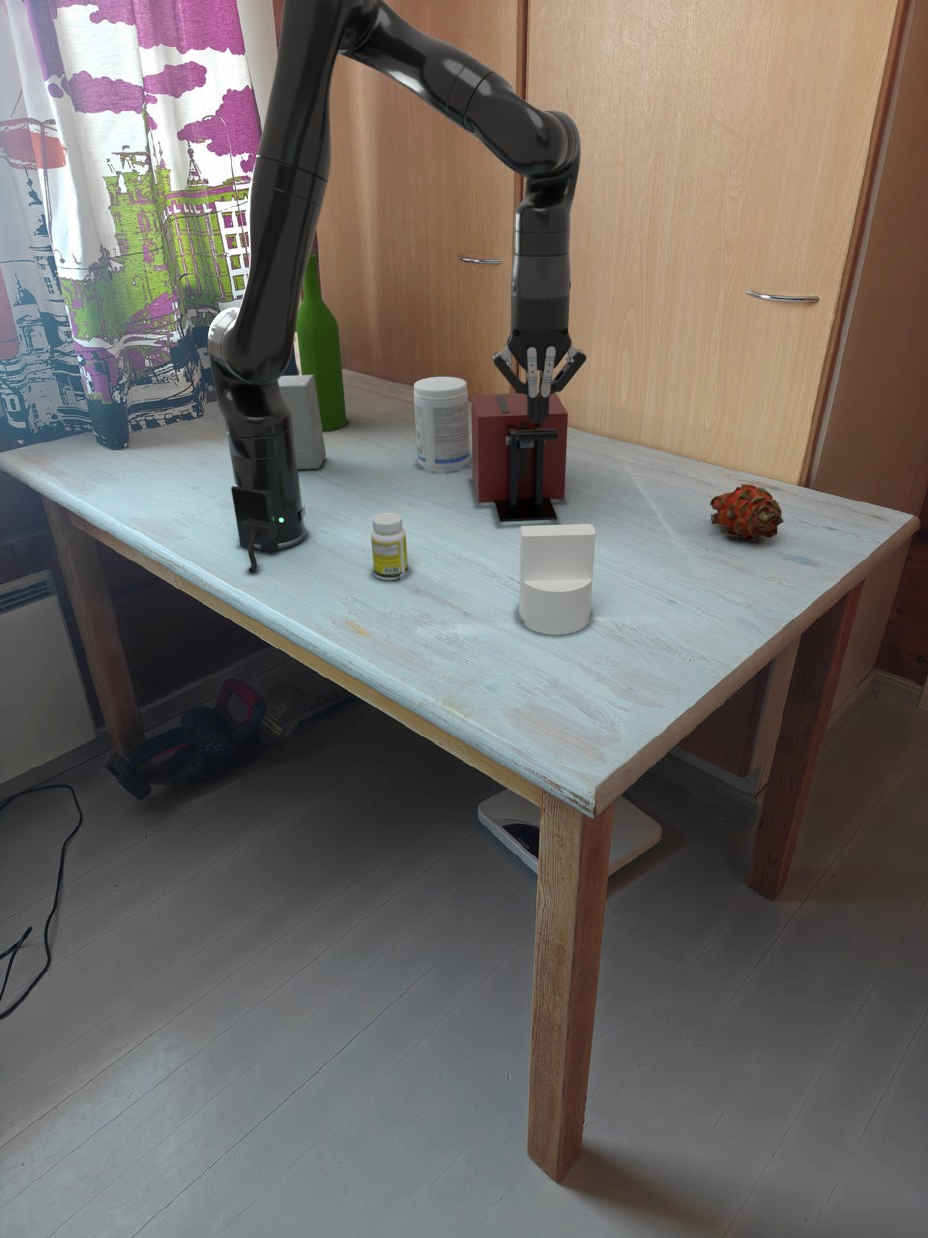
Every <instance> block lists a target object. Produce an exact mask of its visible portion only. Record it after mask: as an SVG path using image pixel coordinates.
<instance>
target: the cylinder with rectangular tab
mask: <svg viewBox="0 0 928 1238" xmlns="http://www.w3.org/2000/svg"><path fill="white" fill-rule="evenodd" d="M519 532H520V535H519V536H520V537H519V539H520V540H519V541H520V542H519V588H518V589H519V590H518V591H519V593H518V613H519V615H520V617H521V618H522V619H520V620H519V621H520V623H521V624H522V626H524V627H526V628H527V629H529V630H531V631H533V632H536V633H538V634H545V635H550V636H551V635H552V636H553V635H554V636H560V635H570V634H573V633H576V632H579V631H581V630H583V629H584V628H585V627H586V626H587V625H588V624H589V622H590V620H591V616H590V615H591V608H592V591H593V575H594V563H595V562H594V561H595V559H594V558H595V548H596V547H595V546H596V545H595V543H596V528H595V527H594V525H593V524H592V523H580V524H575V523H574V524H546V525H543V524H542V525H520V531H519Z"/></svg>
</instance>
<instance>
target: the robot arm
mask: <svg viewBox="0 0 928 1238" xmlns="http://www.w3.org/2000/svg"><path fill="white" fill-rule="evenodd" d="M282 7H283V8H282V9H283V10H282V18H281V25H280V33H279V42H278V49H277V56H276V57H277V58H276V65H275V70H274V76H273V79H272V84H271V89H270V94H269V99H268V103H267V108H266V113H265V117H264V118H265V119H264V123H263V129H262V132H261V137H260V140H259V145H258V149H257V152H256V157H255V160H254V165H253V170H252V174H251V179H250V184H249V189H248V198H247V227H248V245H249V246H248V247H249V265H248V274H247V279H246V285H245V288H244V292H243V296H242V299H241V302H240V306H233V307H228V308H227V309H224V310H222V311H220V312H219V314H218V315H216V317H215V318H214V319H213V321H212V322H211V324H210V325H209V330H208V332H207V333H208V334H207V350H208V359H209V366H210V370H211V375H212V381H213V386H214V389H215V390H214V391H215V396H216V401H217V404H218V407H219V410H220V413H221V415H222V417H223V420H224V425H225V430H226V434H227V443H228V446H229V447H228V448H229V454H230V461H231V468H232V472H233V480H234V484H233V485H232V486H231V487H230V491H231V497H232V503H233V509H234V516H235V521H236V528H237V535H238V542H239V546H240V547H244V548H247V555H248V558H249V562H250V567H248V572H249V573H250V574H253V573H254V572H255V571H257V567H258V562H257V559H256V555H255V550H258V551H262V552H267V553H272V554H273V553H276V552H277V551H279V550H283V549H284V550H285V549H288V548H292V547H294V546H296V545H298V544H300V543H302V542H303V541H304V540H305V539H306V536H307V530H306V526H305V516H306V507H305V505H303V503H302V494H301V487H300V478H299V477H300V476H299V469H298V468H297V459H296V451H295V442H294V433H293V425H292V416H291V410H290V407H289V405H288V403H287V402H286V400H285V398H284V396H283V394H282V392H281V389H280V387H279V383H278V379H279V378H280V377H281V376H284V374H285V372H286V371H287V369H288V367H289V364H290V362H291V359H292V354H293V350H294V337H295V329H296V322H297V314H298V310H299V308H300V300H301V294H302V290H303V279H304V275H305V272H306V268H307V264H308V260H309V256H310V255H311V252H312V248H313V243H314V240H315V235H316V231H317V227H318V224H319V220H320V218H321V217H320V216H321V213H322V210H323V205H324V201H325V197H326V193H327V188H328V184H329V180H330V175H331V168H332V151H333V150H332V148H333V147H332V128H331V127H332V125H331V124H332V123H331V88H332V80H333V74H334V69H335V67H336V62H337V59H338V58H337V57H338V55H341V56H343V57H345V58H348V59H350V60H353V61H354V62H358V63H360V64H362V65H364V66H366V67H369V68H371V69H374V70H375V71H377V72H378V73H381V74H383V75H384V76H386V77H388V78H390V79H392V80H393V81H395V82H397V83H398V84H399V85H401V86H402V87H404V88H406V89H407V90H408V91H410V92H411V93H413V94H414V95H415V96H417V97H418V98H419V99H421V101H423V102H425V103H426V104H427V105H429V106H430V107H431V108H433V109H434V110H436V112H438V113H440V114H441V115H442V116H443V117H445V118H446V119H448V120H449V121H451V122H452V123H453V124H455V125H456V126H458V127H459V128H461V129H462V130H464V131H466V133H468V134H470V135H471V136H473V137H475V138H477V139H478V140H479V141H480V142H481V143H482V144H483V145H484V147H486V148H487V149H488V151H490V153H492V154H493V156H495V157H496V158H497V159H498V160H499V161H500V162H501V163H502V164H503V165H505V166H506V167H507V168H508V169H510V170H511V171H513V172H515V173H516V174H517V175H519V176H520V177H521V176H522V177H524V178H525V186H524V195H523V198H522V200H521V202H519V204H518V206H517V207H516V209H515V211H514V217H513V257H512V264H511V265H512V266H511V276H510V278H511V279H510V280H511V281H510V282H511V283H510V285H511V286H510V288H511V289H510V333H509V336H508V338H507V340H506V346H505V347H504V348H503V349H502V350H500V351H499V352H495V353H493V354H492V356H491V359H492V362H493V364H494V366H495V367H496V368H497V369H498V371H499V372H500V373H501V374H502V376H503V377H504V378H505V380H506V381H507V382H508V383H509V385H511V387H512V388H513V390H514V391H515V393H519V394H521V393H522V394H525V395H527V415H528V417H529V420H532V423H533V424H544V419H547V418H548V416H549V397H550V395H551V394H553V393H557V392H558V393H561V392H562V391H563V390H564V389H565V388H566V386H567V385H568V384H569V383H570V381H571V380H572V379H573V377H574V376H575V375H576V374H577V373H578V372H579V370H580V369H581V367H582V366H583V365H584V363H585V362H586V361H587V355H586V354H585V353H584V351H582V350H581V349H578V348H577V347H575V346H574V345H573V341H572V338H571V336H570V331H569V322H570V299H571V297H570V296H571V289H572V281H571V274H572V273H571V261H570V260H571V259H570V247H571V245H570V243H571V212H572V206H573V204H574V203H573V202H574V200H575V194H576V190H577V189H576V188H577V184H578V177H579V171H580V165H581V155H582V146H581V136H580V135H581V134H580V131H579V128H578V126H577V124H576V121H574V119H573V118H572V117H571V116H570V115H569V114H567V113H565V112H564V111H560V110H541V109H539V108H537V107H535V106H534V105H532V104H531V103H529V102H527V101H526V100H525V99H523V98H522V97H521V96H519V95H518V94H516V93H515V89H514V87H513V86H512V84H511V83H510V81H508V80H507V79H506V78H504V77H503V76H502V75H501V74H499V73H498V72H497V71H495V70H494V69H492V68H490V67H489V66H488V65H486V64H485V63H484V62H481V61H480V60H479V59H477V58H475V57H474V56H472V55H471V54H469V53H467V52H466V51H464V50H463V49H461V48H459V47H457V46H455V45H453V44H451V43H449V42H446V41H443V40H441V39H438V38H435V37H434V36H431V35H429V34H427V33H425V32H423V31H421V30H420V29H418V28H416V27H415V26H414V25H412V24H411V23H409V22H408V21H406V19H404V18H403V17H401V16H400V14H398V12H396V11H395V10H394V9H393V8H392V7H391V6H390V5H389V4H388V3H387V2H386V1H385V0H283V6H282ZM511 355H512V356H513V358H514V359H515V360H516V362H517V363H518V365H519V366H520V367H521V368H522V369H523V370H524V376H525V381H522V380H521V379H520V378H519V376H518V375H517V374H516V373H515V372H514V370H513V369H512V368H511V366H512V359H511ZM564 357H565V361H566V362H565V364H564V365H562V367H561V368H560V370H559V371H558V373H557V374H556V375H555V376H554V369H556V368H557V367H558V365H559V364H560V362H561V361H562V360H563V358H564ZM538 372H539V380H538ZM553 377H554V378H553Z"/></svg>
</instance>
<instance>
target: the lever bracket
mask: <svg viewBox="0 0 928 1238" xmlns="http://www.w3.org/2000/svg"><path fill="white" fill-rule="evenodd" d="M533 430H542V428H541V426H540V424H533ZM516 432H517V431H516V429H515V426H514V425H508V436H506V438H505V442H506V446H507V499H503V500H494V502H493V503H494V508H495V511H496V515H497V518H498V522H499V523H509V522H510V523H511V522H512V523H513V522H531V521H532V522H533V521H551V520H555V521H557V520H558V516H557V513H556V511H555V508H554V505H553V503H552V500H550V499H549V497H547V498H542V487H543V454H544V444H545V442H546V440H536V441H534V448H533V463H532V498H525V499H517V445H518V441H517V438H516Z"/></svg>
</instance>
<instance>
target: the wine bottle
mask: <svg viewBox="0 0 928 1238" xmlns="http://www.w3.org/2000/svg"><path fill="white" fill-rule="evenodd" d="M318 272H319V271H318V264H317V255H316V254H310V256H309V260H308V264H307V268H306V272H305V275H304V279H303V284H302V290H303V299H302V302H301V304H300V305H299V307H298V314H297V322H296V329H295V337H294V344H293V350H294V356H295V357H294V358H295V367H296V376H298V375H314V379H315V386H316V392H317V399H318V406H319V412H320V419H321V425H322V432H329V431H334V430H338V429H342V428H343V427H345V426H346V424H347V413H346V401H345V399H346V398H345V389H344V377H343V365H342V357H341V355H342V354H341V345H340V343H341V342H340V333H339V325H338V322H337V318H336V317H335V316H334V313H332V312H331V310H330V308H329V307H328V305H326V303H325V302H324V300H323V299H322V296H321V289H320V282H319V273H318Z"/></svg>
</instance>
